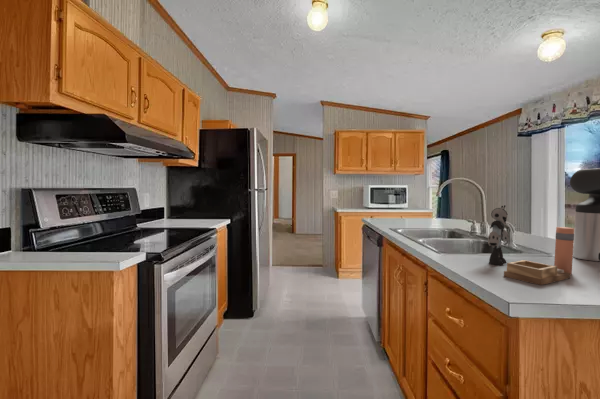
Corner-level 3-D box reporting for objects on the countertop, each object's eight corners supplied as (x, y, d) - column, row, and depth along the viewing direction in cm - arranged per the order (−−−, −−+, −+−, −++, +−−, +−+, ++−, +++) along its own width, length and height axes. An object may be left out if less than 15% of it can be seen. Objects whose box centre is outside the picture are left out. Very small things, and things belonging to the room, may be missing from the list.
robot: (496, 257, 128) (498, 203, 127) (511, 259, 125) (513, 204, 124) (481, 266, 113) (484, 206, 112) (498, 269, 110) (501, 206, 109)
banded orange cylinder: (558, 270, 110) (560, 226, 110) (574, 273, 106) (577, 228, 106) (550, 271, 108) (553, 227, 107) (567, 275, 104) (570, 229, 103)
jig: (533, 270, 110) (533, 257, 110) (569, 277, 101) (570, 264, 101) (503, 276, 102) (504, 262, 102) (540, 285, 94) (541, 270, 93)
